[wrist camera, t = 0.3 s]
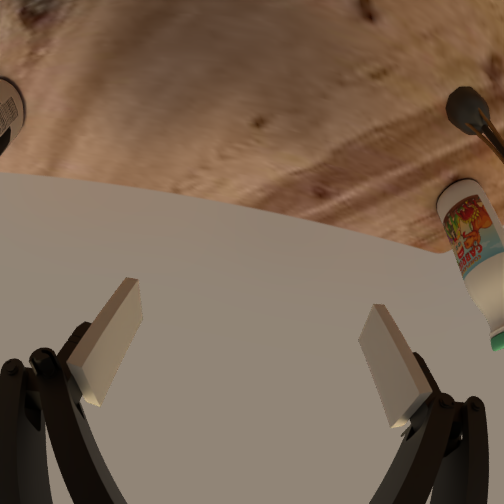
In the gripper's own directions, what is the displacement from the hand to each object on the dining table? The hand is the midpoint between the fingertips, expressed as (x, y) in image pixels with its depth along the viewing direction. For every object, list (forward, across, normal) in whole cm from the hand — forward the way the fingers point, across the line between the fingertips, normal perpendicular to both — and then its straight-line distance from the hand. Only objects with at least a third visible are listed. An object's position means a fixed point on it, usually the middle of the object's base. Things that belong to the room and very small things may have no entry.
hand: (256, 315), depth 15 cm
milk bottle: (+17, +26, +7) cm, 32 cm away
